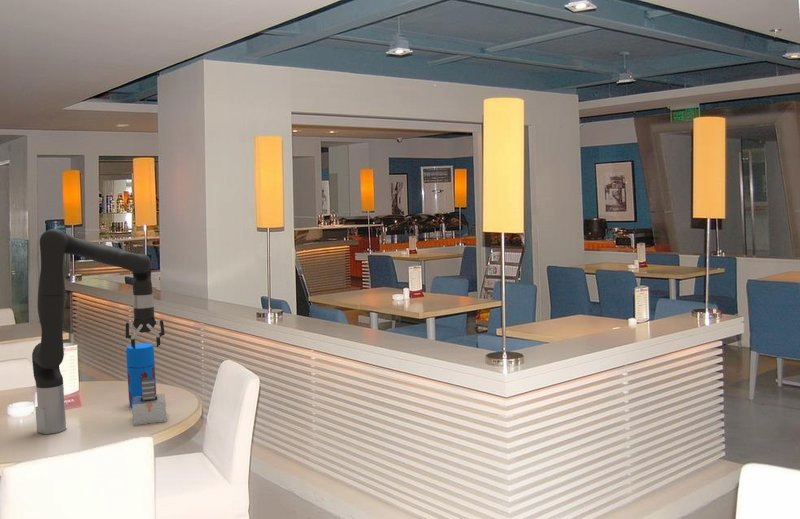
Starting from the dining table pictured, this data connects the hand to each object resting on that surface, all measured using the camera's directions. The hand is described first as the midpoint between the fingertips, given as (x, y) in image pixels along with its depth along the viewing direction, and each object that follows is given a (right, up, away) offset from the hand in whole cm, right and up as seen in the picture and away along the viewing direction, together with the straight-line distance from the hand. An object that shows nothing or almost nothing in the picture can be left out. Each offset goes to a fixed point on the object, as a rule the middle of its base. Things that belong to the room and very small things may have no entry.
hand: (146, 347), depth 302 cm
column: (+1, -28, +3) cm, 28 cm away
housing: (+1, -28, +3) cm, 28 cm away
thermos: (-8, -27, +22) cm, 36 cm away
